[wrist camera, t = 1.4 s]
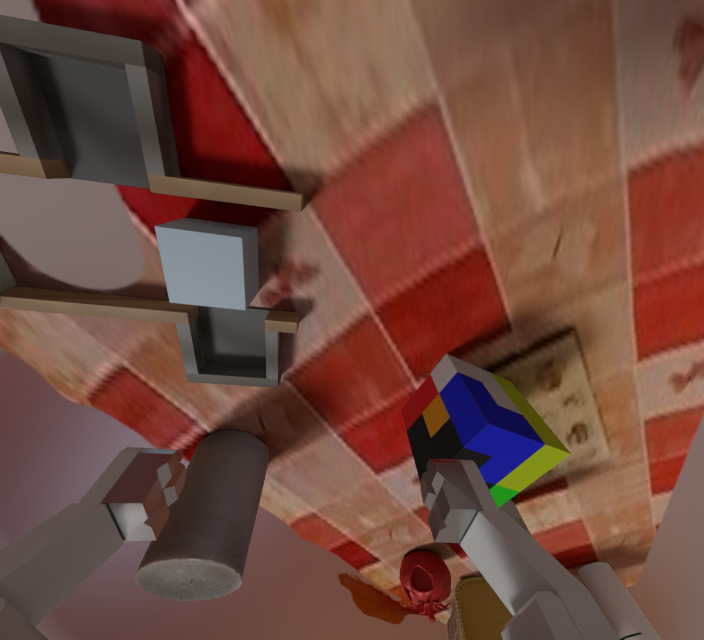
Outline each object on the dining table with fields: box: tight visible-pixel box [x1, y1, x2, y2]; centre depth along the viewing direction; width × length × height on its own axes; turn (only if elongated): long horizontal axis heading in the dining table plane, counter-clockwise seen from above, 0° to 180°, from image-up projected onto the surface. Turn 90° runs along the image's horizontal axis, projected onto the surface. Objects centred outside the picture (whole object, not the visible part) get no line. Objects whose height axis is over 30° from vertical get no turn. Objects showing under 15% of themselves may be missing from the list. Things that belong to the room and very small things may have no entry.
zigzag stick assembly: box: [0, 15, 305, 388], centre depth 22 cm, size 27×27×4 cm
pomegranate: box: [400, 550, 451, 622], centre depth 52 cm, size 10×10×9 cm
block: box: [155, 218, 259, 310], centre depth 23 cm, size 6×6×4 cm
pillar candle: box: [135, 430, 270, 601], centre depth 31 cm, size 10×10×15 cm
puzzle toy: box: [401, 354, 571, 508], centre depth 30 cm, size 10×10×10 cm
